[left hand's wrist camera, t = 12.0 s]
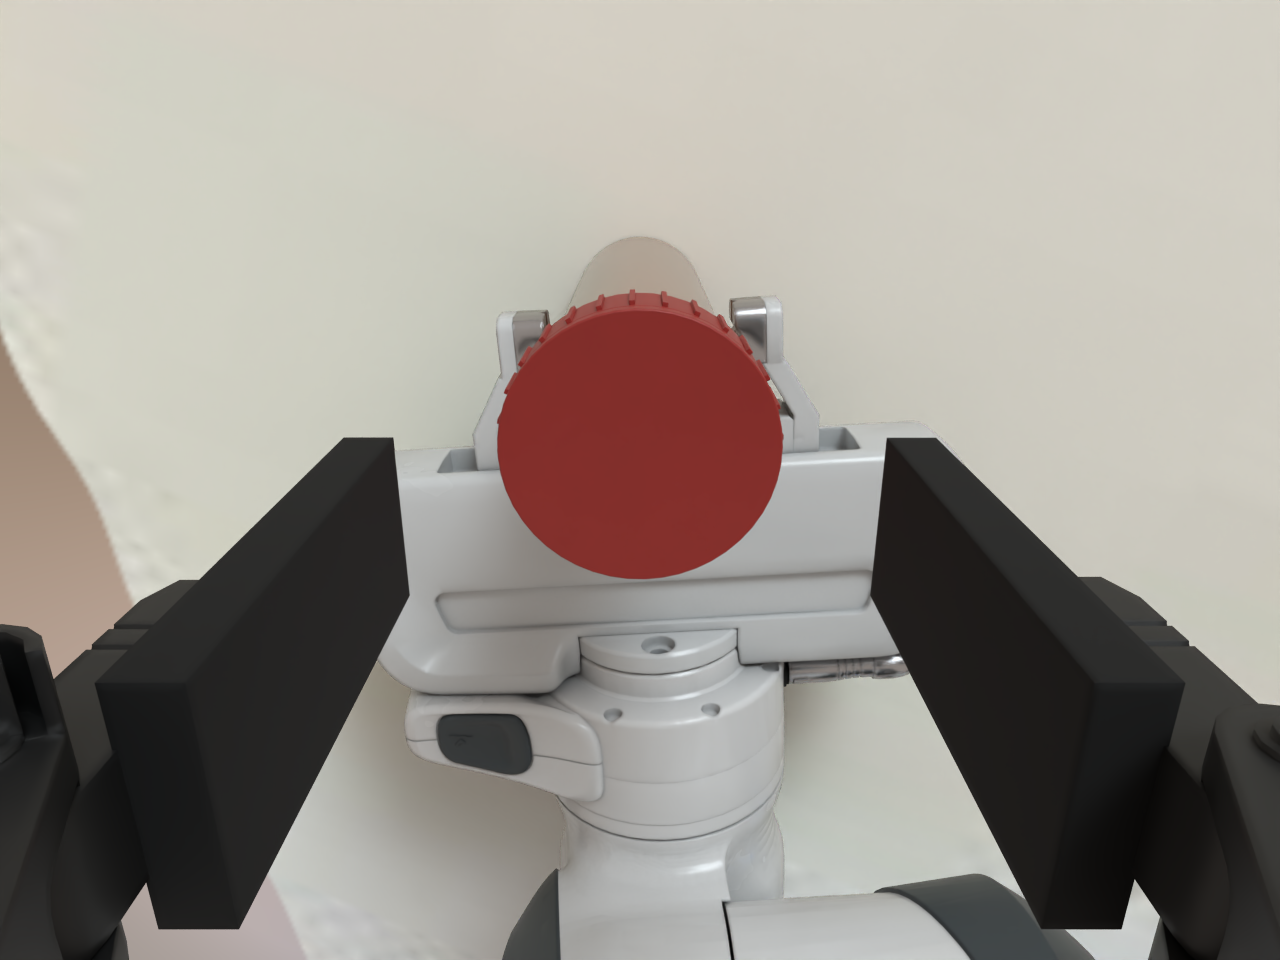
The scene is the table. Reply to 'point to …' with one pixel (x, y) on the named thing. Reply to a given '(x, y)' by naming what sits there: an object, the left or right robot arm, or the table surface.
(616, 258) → the jar
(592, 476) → the lid
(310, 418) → the table surface
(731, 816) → the right robot arm
